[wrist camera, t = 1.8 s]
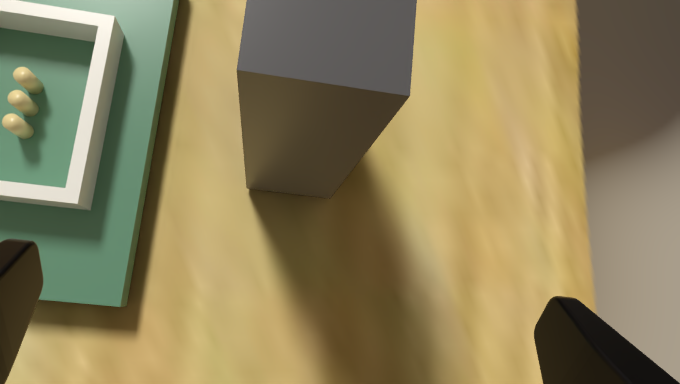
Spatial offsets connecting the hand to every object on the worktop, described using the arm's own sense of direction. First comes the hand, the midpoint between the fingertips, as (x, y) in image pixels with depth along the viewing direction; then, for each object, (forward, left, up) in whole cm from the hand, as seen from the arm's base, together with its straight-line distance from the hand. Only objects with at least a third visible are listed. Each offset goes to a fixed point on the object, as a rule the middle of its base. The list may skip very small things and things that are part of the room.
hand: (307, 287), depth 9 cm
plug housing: (+6, -2, -12) cm, 14 cm away
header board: (+8, +8, -12) cm, 17 cm away
